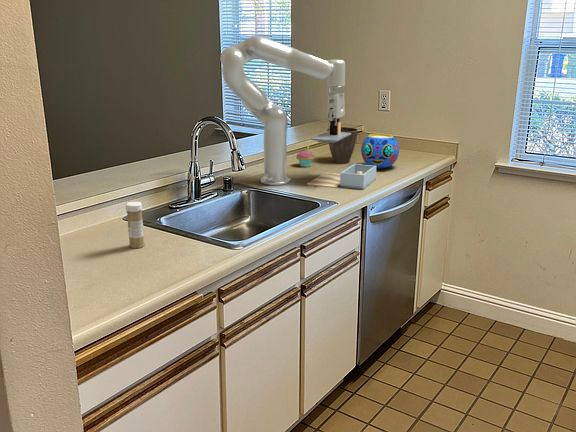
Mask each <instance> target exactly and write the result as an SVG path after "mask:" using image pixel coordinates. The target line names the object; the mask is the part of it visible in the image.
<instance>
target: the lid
mask: <svg viewBox="0 0 576 432" xmlns="http://www.w3.org/2000/svg"><path fill="white" fill-rule="evenodd" d="M328 125H329V126H328V127H329V131H327V130H326V131H325V132H322V133H321V134H319V135H316V136H314V137H311V139H310V140H311V141H317V142H318V143H326V144H329V143H335V142H337V141H339V140H341V139H343V138H345V137H347V136H349V135H351V133H344V132H341V127H342V126H341V125H342V122H337V125H336V126H337V135H330V122H329V124H328Z"/></svg>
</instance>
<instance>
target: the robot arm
mask: <svg viewBox="0 0 576 432" xmlns="http://www.w3.org/2000/svg"><path fill="white" fill-rule="evenodd" d="M219 59H220V63H221V65H222V66H221V67H222V68H221V69H222V72H221V73H222V77H223V81H224V83H225V85H226V86H227V87H228V89H229V90H230V91H232V93H233V94H234V95H235V96H236V98H238V99H239V100H240V101H241V103H242V105H243V106H244V107H245V108H246V110H248V111H249V112H250V113H251V115H253V116H254V117H255V118H256V119H257V120H258V121H259V122H260V123H262V124H263V125H264V127H263V130H264V131H263V175H264V176H263V177H261V178H260V183H261V184H264V185H268V186H269V185H270V186H281V185H287V184H289V183H290V182H291V178H290V177H288V176H287V173H288V172H287V165H288V163H287V157H288V156H287V148H288V147H287V137H288V135H287V132H288V124H289V121H288V115H287V113H286V111H285V110H284V109H282V108H281V107H280V106H277V105H276V104H275V103H274V102H273V101H272V100H271V99H270V98H269V97H268V96H267V94H266V93H265V91H264V90H262V89H261V88H260V87H258V85H257V84H255V83H254V82H253V81H252V79H250V77H249V76H247V75H246V73H245V71H244V65H245V64H246V63H249V62H251V61H253V60H255V59H259V60H261V61H263V62H267V63H269V64H270V63H271V64H272V65H275V66H278V67H281V68H283V69H287V70H290V71H291V70H292V71H295V72H299V73H302V74H305V75H307V76H310V77H311V78H313V79H318V80H326V95H327V103H326V117H327V118H328V122H329V123H330V135H337V126H336V125H337V122H341V121H342V120H341V119H342V118H343V117H345V115H346V114H345V113H346V109H345V108H346V105H345V93H346V92H345V91H346V87H345V86H346V61H344V60H343V59H329V60H327V59H322V58H319V57H316V56H313V55H312V54H309V53H306V52H303V51H301V50H299V49H296V48H294V47H291V46H288V45H286V44H283V43H282V42H281V43H280V42H278V41H275V40H273V39H270V38H268V37H265V36H262V35H254V36H250V37H249V38H246V39H243V40H242V41H239V42H237V43H234V44H233V45H230V46H229V47H226V48H225V49H224V50H222V51H221V53H220V58H219ZM341 123H342V122H341Z"/></svg>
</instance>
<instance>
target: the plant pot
mask: <svg viewBox="0 0 576 432" xmlns="http://www.w3.org/2000/svg"><path fill="white" fill-rule="evenodd" d="M327 131H329V128H327V129H326V132H327ZM341 132H344V133H351V135H349V136H347V137H345V138H343V139H341V140H339V141H337V142H335V143H328V147H329V150H330V153H331V158H332V160H333V163H335V164H342V165H343V164H348V163H350V161H351V158H352V155H353V152H354V150H355V146H356V143H357V137H358V133H359V129H358V128H355V127H347V126H346V127H344V126H341Z"/></svg>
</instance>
